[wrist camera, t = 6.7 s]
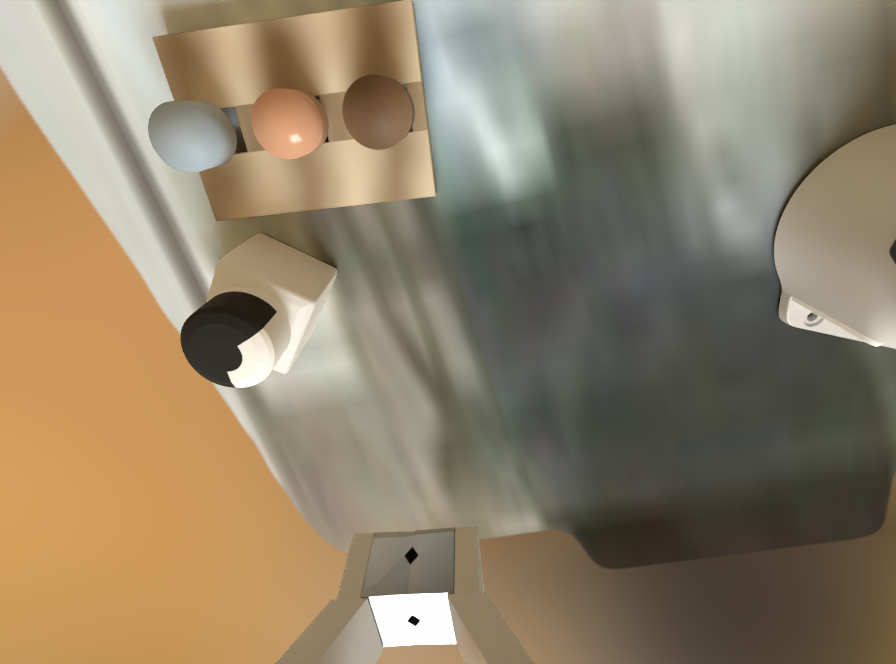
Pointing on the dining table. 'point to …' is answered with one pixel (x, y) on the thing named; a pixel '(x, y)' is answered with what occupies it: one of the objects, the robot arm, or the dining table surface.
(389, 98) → the brown rounded piece
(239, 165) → the button board
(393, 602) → the robot arm
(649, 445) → the dining table surface
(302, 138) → the peach rounded knob
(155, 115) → the slate-blue button
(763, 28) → the dining table surface
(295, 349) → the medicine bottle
